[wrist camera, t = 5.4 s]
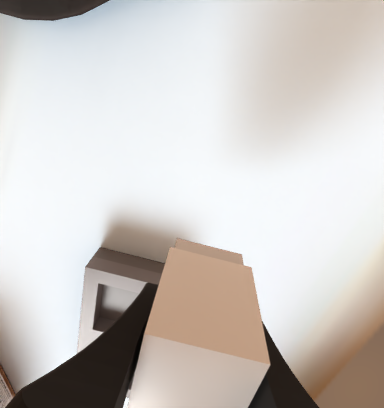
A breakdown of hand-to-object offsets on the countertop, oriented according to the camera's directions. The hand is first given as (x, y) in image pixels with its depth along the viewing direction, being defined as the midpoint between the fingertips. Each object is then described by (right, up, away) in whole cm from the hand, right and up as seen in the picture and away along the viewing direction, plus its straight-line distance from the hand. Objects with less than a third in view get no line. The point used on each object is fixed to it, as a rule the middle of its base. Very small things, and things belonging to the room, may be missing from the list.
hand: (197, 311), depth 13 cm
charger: (0, +1, +2) cm, 3 cm away
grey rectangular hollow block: (-7, -6, +15) cm, 17 cm away
